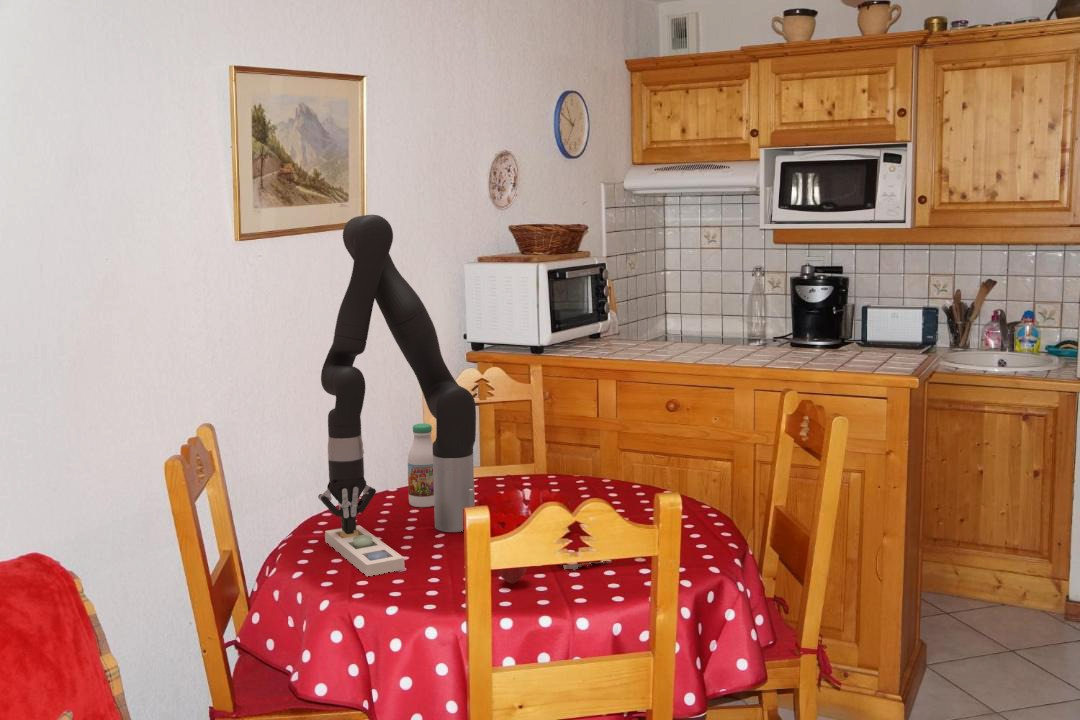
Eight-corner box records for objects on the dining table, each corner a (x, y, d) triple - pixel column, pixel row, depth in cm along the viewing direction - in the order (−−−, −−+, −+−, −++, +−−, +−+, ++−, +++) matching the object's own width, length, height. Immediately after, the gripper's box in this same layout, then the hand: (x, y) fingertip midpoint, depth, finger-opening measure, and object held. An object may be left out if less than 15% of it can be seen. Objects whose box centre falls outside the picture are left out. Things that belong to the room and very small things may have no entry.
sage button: (368, 542, 225) (368, 533, 225) (375, 548, 222) (375, 538, 221) (350, 546, 223) (350, 537, 223) (357, 551, 220) (357, 542, 219)
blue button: (383, 559, 218) (383, 550, 218) (390, 564, 214) (390, 555, 214) (365, 562, 216) (364, 553, 216) (372, 568, 212) (371, 559, 212)
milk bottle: (406, 501, 263) (403, 423, 260) (436, 498, 265) (434, 420, 263) (412, 509, 256) (409, 429, 253) (443, 506, 258) (440, 426, 255)
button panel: (359, 535, 236) (359, 525, 235) (404, 569, 213) (404, 557, 213) (325, 542, 232) (324, 531, 231) (367, 576, 209) (366, 564, 209)
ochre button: (355, 537, 232) (354, 529, 232) (361, 542, 229) (361, 533, 229) (337, 540, 231) (337, 532, 230) (343, 545, 227) (343, 536, 227)
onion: (523, 590, 201) (522, 549, 200) (494, 588, 202) (493, 548, 201) (529, 579, 207) (529, 540, 206) (501, 577, 208) (500, 538, 207)
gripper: (368, 448, 233) (371, 523, 236) (310, 456, 227) (314, 533, 229) (380, 455, 227) (383, 532, 229) (321, 463, 220) (325, 542, 223)
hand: (348, 532), depth 229 cm, fingers closed
